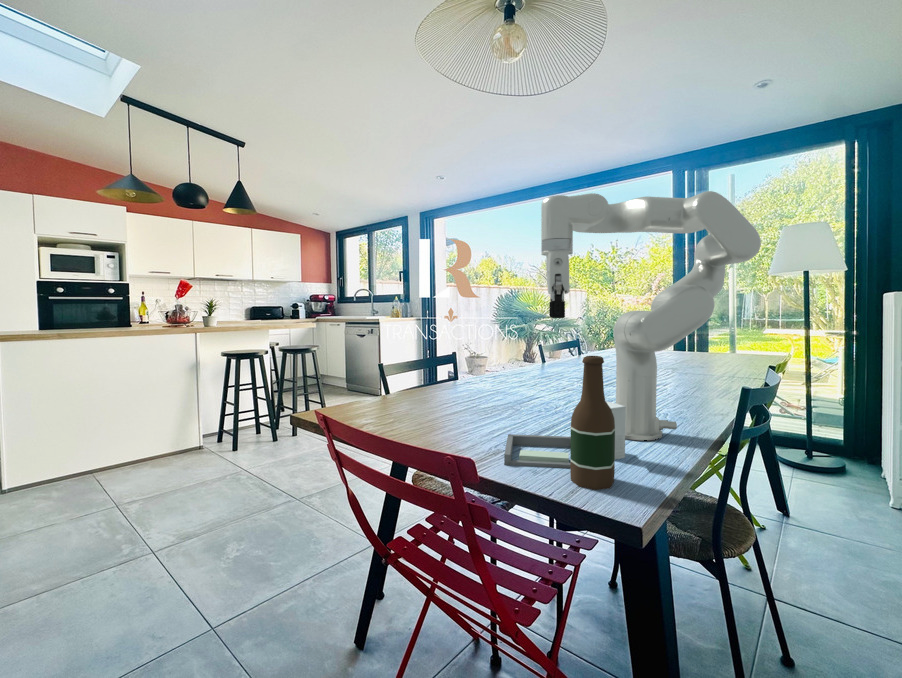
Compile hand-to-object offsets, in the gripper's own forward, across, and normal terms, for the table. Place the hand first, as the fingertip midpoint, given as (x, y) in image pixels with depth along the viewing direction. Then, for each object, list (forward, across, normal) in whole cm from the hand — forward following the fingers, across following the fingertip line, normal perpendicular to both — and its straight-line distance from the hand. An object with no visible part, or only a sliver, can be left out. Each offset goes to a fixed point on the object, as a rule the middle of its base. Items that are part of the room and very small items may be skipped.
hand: (556, 317), depth 109 cm
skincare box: (+31, -15, -10) cm, 35 cm away
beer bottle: (+31, -30, -5) cm, 43 cm away
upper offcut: (+30, -20, +4) cm, 36 cm away
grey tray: (+30, -17, +4) cm, 35 cm away
